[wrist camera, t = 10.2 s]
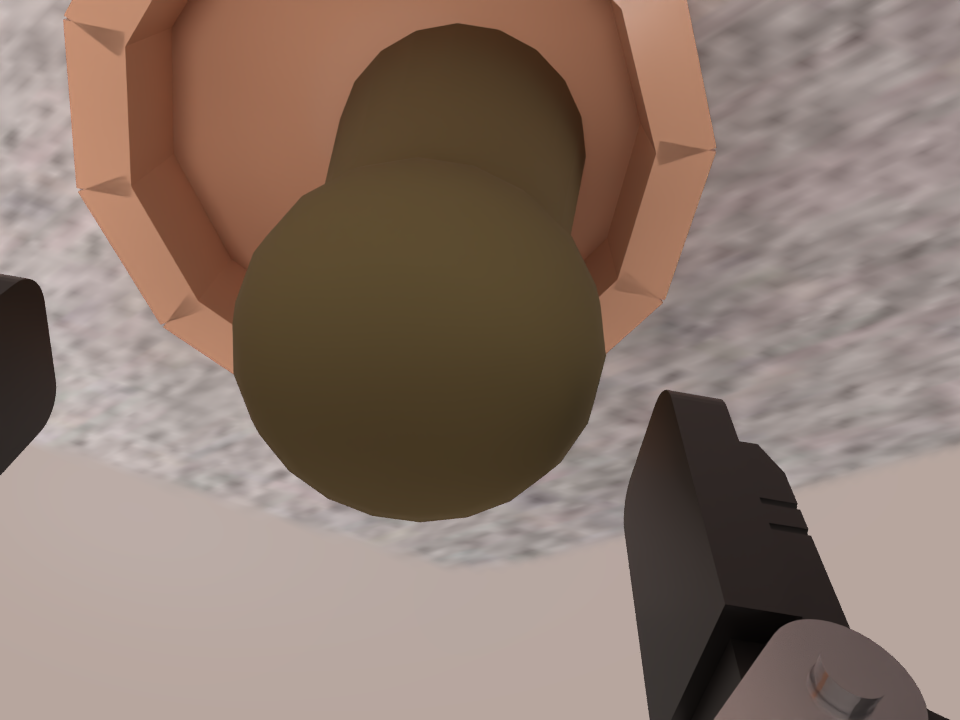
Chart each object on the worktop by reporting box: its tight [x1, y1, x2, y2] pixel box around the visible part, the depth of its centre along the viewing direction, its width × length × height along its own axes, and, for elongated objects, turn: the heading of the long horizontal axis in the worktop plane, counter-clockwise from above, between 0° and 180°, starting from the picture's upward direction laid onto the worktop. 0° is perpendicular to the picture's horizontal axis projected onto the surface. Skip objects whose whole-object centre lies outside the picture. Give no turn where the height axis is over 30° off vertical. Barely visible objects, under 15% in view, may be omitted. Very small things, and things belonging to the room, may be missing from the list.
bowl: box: [63, 0, 716, 374], centre depth 18 cm, size 13×13×4 cm
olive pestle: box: [232, 23, 606, 522], centre depth 15 cm, size 6×6×11 cm
